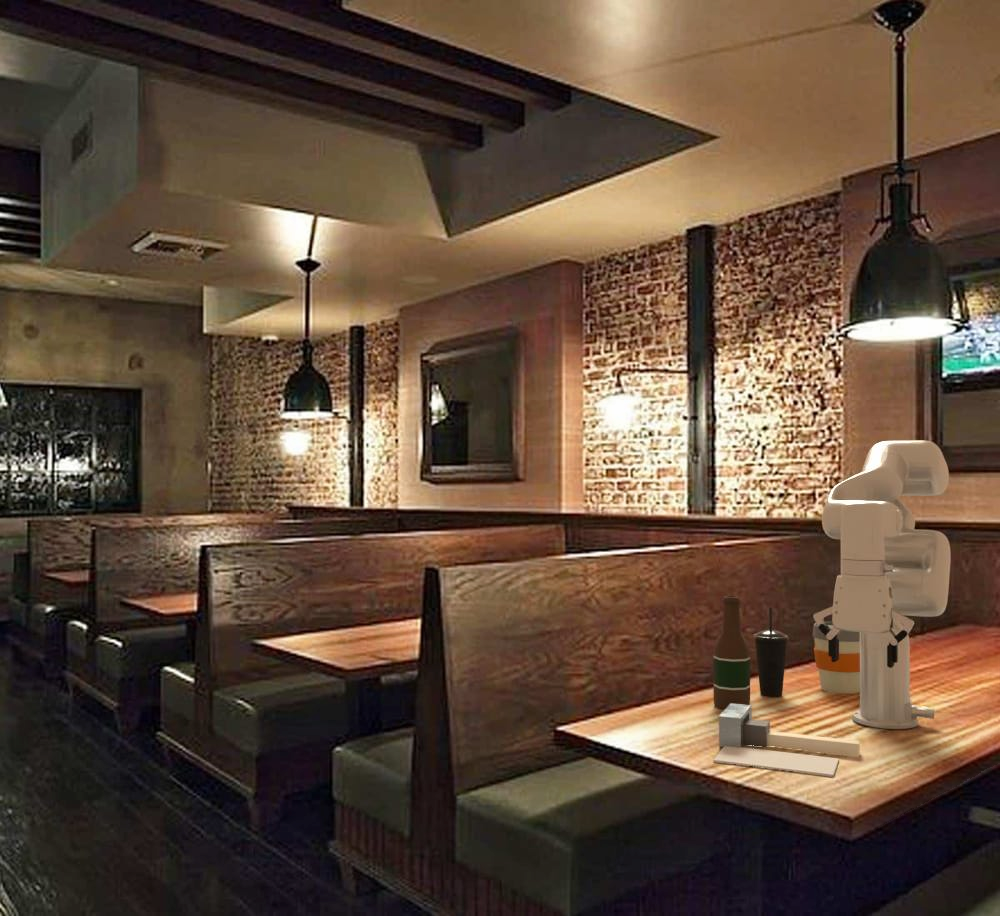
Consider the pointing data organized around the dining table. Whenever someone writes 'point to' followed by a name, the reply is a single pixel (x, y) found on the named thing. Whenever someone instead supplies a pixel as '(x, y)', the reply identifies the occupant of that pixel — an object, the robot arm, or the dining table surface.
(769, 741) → the cream rectangular bar
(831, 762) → the mat
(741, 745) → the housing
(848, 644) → the reusable coffee cup
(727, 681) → the beer bottle
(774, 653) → the drinking cup
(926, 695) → the dining table surface
